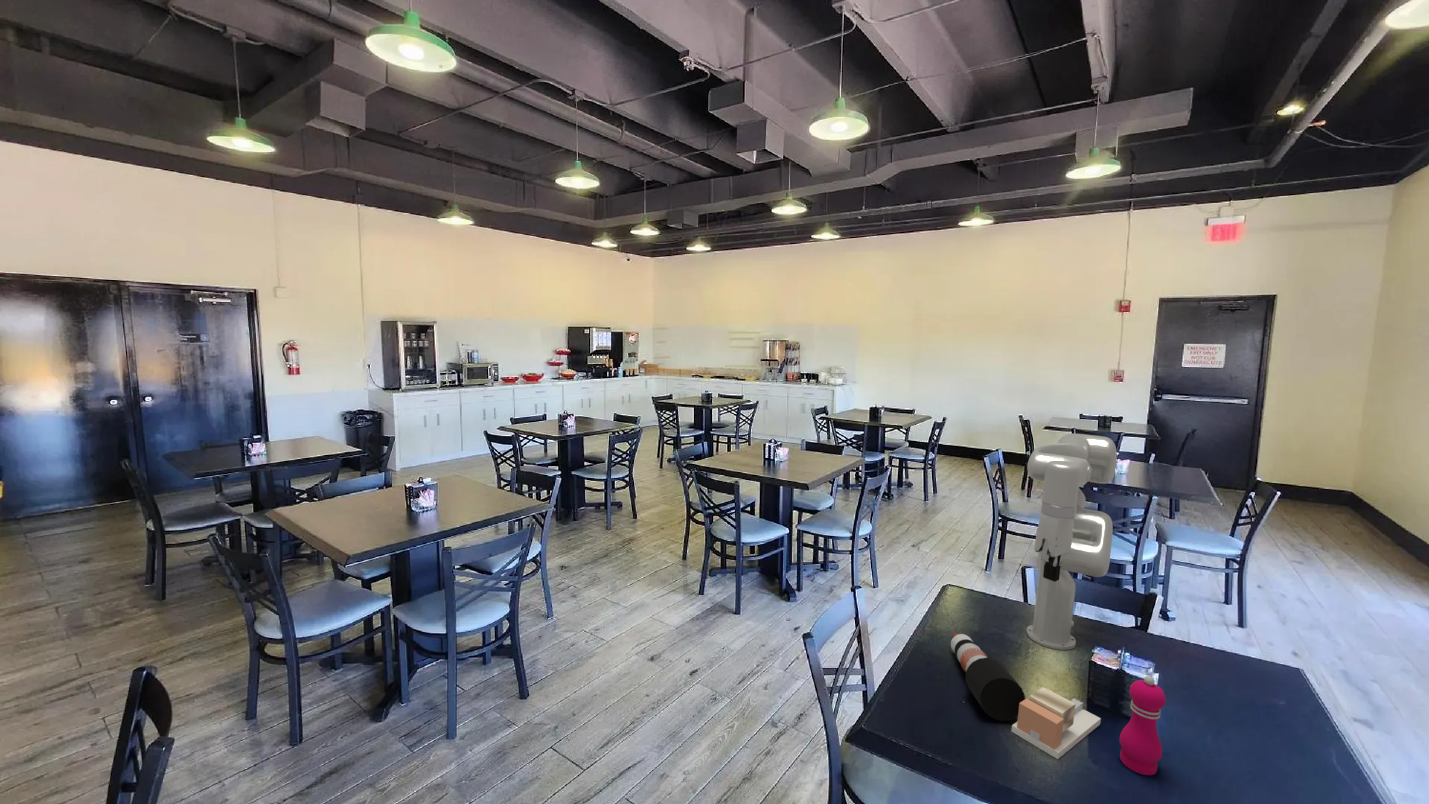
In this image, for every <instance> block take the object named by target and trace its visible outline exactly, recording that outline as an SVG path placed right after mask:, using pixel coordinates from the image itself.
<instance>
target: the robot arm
mask: <svg viewBox="0 0 1429 804" xmlns="http://www.w3.org/2000/svg"><path fill="white" fill-rule="evenodd" d="M1026 466H1027V469H1026V470H1027V474H1028V476H1029V477H1030V478H1031V479H1032V480H1034V481H1039V482H1043V488H1042V498H1041V509H1040V514H1041V515H1040V518H1039V522H1038V525H1037V530H1036V535H1035V542H1034V551H1035V553H1037V557H1038V572H1037V573H1038V574H1037V575H1038V576H1037V585H1036V594H1035V603H1034V604H1035V605H1034V613H1033V622H1032V624H1030V625H1028V626H1027V628H1026V631H1025V632H1026V635H1027V637H1029V639H1031V641H1034V642H1035V643H1037V644H1039V645H1041V646H1044V647H1046V648H1050V649H1053V650H1060V651H1068V650H1072V649H1074V648H1075V647H1076V645H1077V644H1076V643H1077V641H1076V639H1075V637H1074V636H1073V635H1072V634H1071V631H1072V627H1074V625H1075V621H1074V620H1073V614H1074V606H1075V605H1074V604H1075V598H1076V597H1075V595H1076V582H1075V580H1074V579H1073V577H1072V575H1071V574H1070V573H1069V572H1071V573H1072V572H1074V573H1077V574H1081V575H1084V576H1085V575H1086V576H1090V577H1095V578H1102V577H1104V576H1105V575H1106V574H1107V573H1108V571H1109V569H1110V568H1109V567H1110V561H1111V552H1112V544H1113V543H1112V541H1113V532H1114V531H1113V519H1112V518H1111V516H1110V515H1109V514H1108V513H1105V512H1103V511H1100V510H1093V509H1088V508H1085V505H1086V496H1085V494H1084V493H1083V491H1082V490H1081V489H1080V488H1081V487H1083V486H1085V485H1086V484H1087V483H1088V482H1090V483H1094V484H1109V483H1111V482H1112V481H1113V480H1114V478H1115V474H1116V467H1117V447H1116V444H1115V442H1114V440H1112V439H1111V438H1110V437H1107V436H1101V435H1092V434H1084V433H1067V434H1065V435H1063V436H1061V437H1060V438H1059V440H1058V442H1057V443H1053V444H1047V445H1040V446H1038V447H1036V448H1035V449H1033V451H1032V453H1031V454H1030V456H1029V458H1028V462H1027V465H1026Z"/></svg>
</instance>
